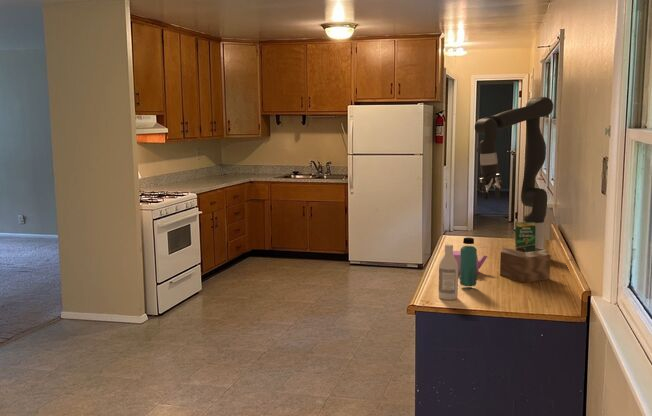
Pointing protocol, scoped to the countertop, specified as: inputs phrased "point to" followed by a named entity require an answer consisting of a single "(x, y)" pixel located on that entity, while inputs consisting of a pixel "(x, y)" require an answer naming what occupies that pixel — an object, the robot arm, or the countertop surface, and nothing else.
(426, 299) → the countertop surface
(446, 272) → the bath foam
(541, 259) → the walnut stand
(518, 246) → the coffee box
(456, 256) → the teapot
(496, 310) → the countertop surface
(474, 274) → the beverage bottle
